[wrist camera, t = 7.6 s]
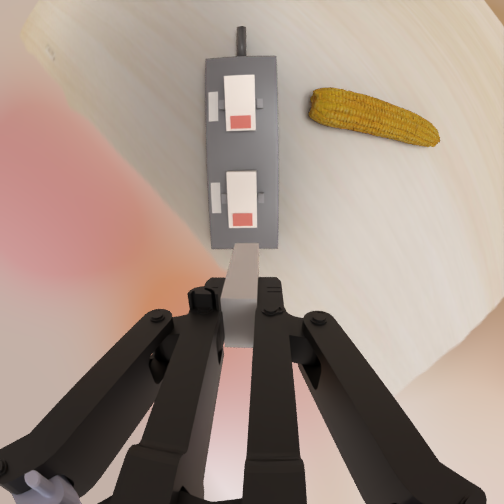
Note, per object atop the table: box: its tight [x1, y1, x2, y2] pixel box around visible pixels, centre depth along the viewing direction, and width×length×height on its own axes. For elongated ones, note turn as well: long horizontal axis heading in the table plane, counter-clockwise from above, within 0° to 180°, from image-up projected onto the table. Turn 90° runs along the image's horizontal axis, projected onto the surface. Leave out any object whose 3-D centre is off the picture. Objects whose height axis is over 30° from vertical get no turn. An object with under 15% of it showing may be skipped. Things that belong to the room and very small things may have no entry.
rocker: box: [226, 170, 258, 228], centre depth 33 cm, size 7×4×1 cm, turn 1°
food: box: [309, 87, 440, 147], centre depth 31 cm, size 21×6×6 cm, turn 86°
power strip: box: [205, 26, 279, 249], centre depth 33 cm, size 32×9×5 cm, turn 1°
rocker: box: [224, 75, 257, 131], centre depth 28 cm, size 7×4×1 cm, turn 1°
